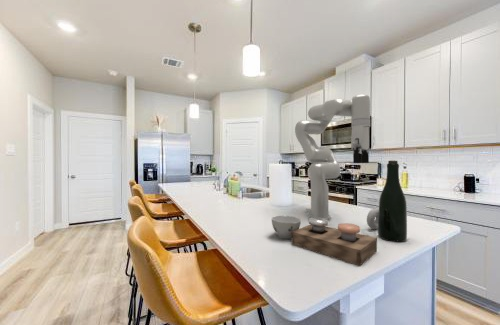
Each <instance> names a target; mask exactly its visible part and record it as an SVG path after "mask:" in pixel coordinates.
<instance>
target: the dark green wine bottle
mask: <svg viewBox="0 0 500 325" xmlns="http://www.w3.org/2000/svg"><path fill="white" fill-rule="evenodd" d="M398 162H399V161H398V160H388V162H387V164H386V179H385V184H384V186H383V187H382V188H383V189H382V191H381V192H380V196H379V201H378V209H379V213H378V229H377V234H378V237H379V238H381V239H383V240H385V241H390V242H396V243H397V242H399V243H400V242H401V243H402V242H405V241H407V237H408V233H407V232H408V217H407V216H408V215H407V214H408V213H407V210H408V209H407V199H406V196H405V193H404V191H403V188H402V186H401V182H400V176H399V175H400V172H399V171H400V170H399V169H400V164H399V163H398Z"/></svg>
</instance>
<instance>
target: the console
mask: <svg viewBox="0 0 500 325" xmlns="http://www.w3.org/2000/svg"><path fill="white" fill-rule="evenodd" d="M291 245H294V246H296V247H300V248H303V249H306V250H309V251H312V252H315V253H318V254H322V255H324V256H328V257H331V258H333V259H334V258H335V259H336V260H340V261H343V262H346V263H350V264H353V265H355V266H360V267H361V266H362V265H363V264H364V263H366V261H369V259H370V258H372V256H374V255H375V254H376V253H377V252H378V249H377V248H378V237H375V236H371V235H367V234H362V233H356V242H354V243H352V242H348V241H345V240H341V231H339V230H338V228H334V227H330V226H325V233H324V234H322V235H321V234H317V233H313V232H312V225H311V224H307V225H305V226H303V227H299V229H297V230H295V231H292V238H291Z"/></svg>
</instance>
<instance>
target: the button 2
mask: <svg viewBox="0 0 500 325" xmlns="http://www.w3.org/2000/svg"><path fill="white" fill-rule="evenodd" d="M337 229H338V230H339V231H341V240H345V241H348V242H352V243H354V242H356V233H358V234H360V229H361V227H360V226H359V225H357V224H354V223H344V222H342V223H339V224H337Z"/></svg>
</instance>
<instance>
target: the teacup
mask: <svg viewBox="0 0 500 325" xmlns="http://www.w3.org/2000/svg"><path fill="white" fill-rule="evenodd" d="M301 222H302V220H301V218H300V217H298V216H295V215H294V216H293V215H275V216H272V217H271V224H272V228H273V230H274V232H275V233H276V235H278V237H279V238H280V239H286V240H289V239H292V231H295V230H297V229H300V228H301V227H300V226H301Z"/></svg>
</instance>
